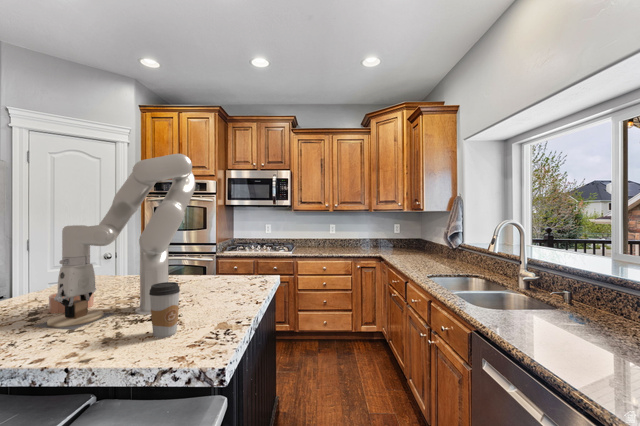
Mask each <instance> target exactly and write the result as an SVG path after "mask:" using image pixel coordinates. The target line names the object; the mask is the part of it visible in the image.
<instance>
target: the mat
mask: <svg viewBox="0 0 640 426" xmlns="http://www.w3.org/2000/svg"><path fill="white" fill-rule="evenodd" d="M116 314H117V313H114V312H103V317H102V318H100V319H98V320H96V321H93V322H90V323H86V324H82V325H77V326H71V327H59V328H56V327H49V326H47V321H44V322H42V323H38V324H35V325H32V326H31V328H46V329H57V330H58V329H59V330H71V331H74V330H77V329H79V328H82V327H84V326H87V325H90V324H93V323H94V322H98V321H100V320H103V319H106V318H108V317H111V316H114V315H116Z"/></svg>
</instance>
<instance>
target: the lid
mask: <svg viewBox="0 0 640 426" xmlns="http://www.w3.org/2000/svg"><path fill="white" fill-rule="evenodd" d="M73 305H74V317H73V318H67V317H65V313H60V314H58V315H55V316H53V317H51V318H49V319H47V321H46V322H47V326H49V327H56V328H59V327H71V326H77V325H82V324H86V323H90V322H93V321H95V322H97V321H96V320H98V319H100V318H102V317H103V313H104V311H103V310H101V309H88V312H87V301H86V300H76V301H73ZM98 321H99V320H98ZM93 323H94V322H93ZM90 324H91V323H90Z"/></svg>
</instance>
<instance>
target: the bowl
mask: <svg viewBox="0 0 640 426" xmlns="http://www.w3.org/2000/svg"><path fill="white" fill-rule="evenodd" d="M57 293H58V292H57ZM57 293H52V294H51V295H49V296H48V312H49V313H50V314H65V306H63V304H61V303H60V302H58V301H55V300H54V298H55V296H56V295H57ZM94 297H95V296H94V293H92V295H91V297H90V300H89V301H88V309H90V308H91V307H93V306H94V305H95V304H94V303H95V302H94ZM62 298H64V296H63V297H62ZM76 300H80V297H79V296H75V297H74V300H73V301H76ZM68 301H69V298H68Z"/></svg>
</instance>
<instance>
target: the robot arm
mask: <svg viewBox="0 0 640 426" xmlns="http://www.w3.org/2000/svg"><path fill="white" fill-rule="evenodd" d="M192 169H193V162H192V160H191V159H190V158H189V157H188V156H187V155H185V154H183V153H174V154H173V153H172V154H168V155H167V154H166V155H162V156H157V157H152V158H147V159H142V160H139V161H137V162H136V163H135V164H134V165H133V166H132V171H131V173H130V175H128V177H127V179H126V180H125V182H123V184H122V185H121V187H120V188H119V190H117V192H116V194H115V195H114V197H113V200H112V203H111V206H110V208H109V209H108V211H107V213H106V214H105V215H104V217H102V220H100V222H99V224H97V225H96V224H95V225H84V224H83V225H82V224H81V225H80V224H79V225H78V224H77V225H75V224H73V225H66V226H63V228H62V230H61V232H62V233H61V244H62V245H61V248H62V249H61V255H62V256H61V260H59V264H60V265H62V266H60V270H59V272H58V278H57V295H56V296H55V298H54V300H55V301H58V302H60V303H61V304H63V306H65V313H64V314H65V317H67V318H73V317H74V305H73V300H74V297H75V296H79V297H80V300H86V301H87V312H88V310H89V308H88V301H89V300H90V297H91V295H92V293H93V294H94V293H95V292H96V291H97V288H96V276H95V275H96V274H95V269H94V265H93V263H91V246H93V247H106V246H108V245H110V244H112V243H114V242H115V241H116V240H117V238H118V237H119V236H120V234H121V232H122V231H123V229H125V227H126V225H127V224H128V223H129V221H130V219H131V218H132V216H133V215H134V214H135V213H136V212H137V211H138V210H139V208H140V206H141V205H142V204H143V202H144V200H145V199H146V198H147V196H148V195H149V193H150V192H151V190H152V189H153V188H154V186H155V184H156V183H157V182H162V181H166V180H167V181H168V180H171V181H172V183H171V185H170V187H169V189H168V191H167V193H166V194H165V197H164V198H163V200H162V201H161V202H160V204H159V205H158V206H157V207H156V209H155V211H154V212H153V214H152V216H151V218H150V219H149V221H148V222H147V224H146V226H145V227H144V230H143V231H142V232H141V234H140V236H139V239H138V244H139V307H136V308H135V310H134V313H135V314H137V315H145V316H146V315H151V301H150V295H149V293H150V289H151V286H152V285H154V284H158V283H164V282H169V246H170V244H171V242H172V240H173V239H174V237H175V236H176V233H177V231H178V230H179V228H180V226H181V225H182V222H183V220H184V217H185V210H186V209H187V207H188V206H189V203H190V201H191V199H192V198H193V195H194V193H195V190H196V177H195V175H194V172H193V171H192ZM63 296H64V298H62V297H63ZM68 298H69V301H68Z"/></svg>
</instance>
